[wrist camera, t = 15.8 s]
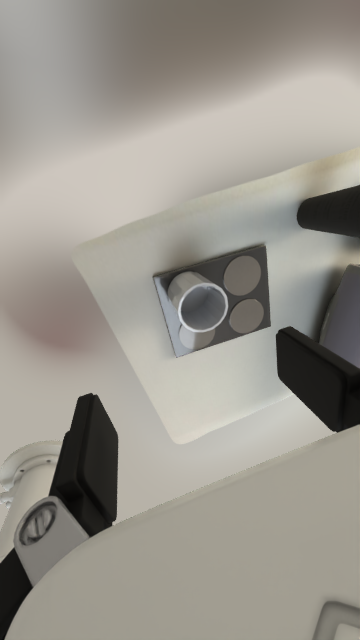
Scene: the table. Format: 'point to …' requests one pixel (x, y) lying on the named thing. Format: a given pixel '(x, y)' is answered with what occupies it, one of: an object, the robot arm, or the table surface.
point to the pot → (197, 301)
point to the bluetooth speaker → (344, 318)
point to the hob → (242, 294)
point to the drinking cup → (333, 212)
